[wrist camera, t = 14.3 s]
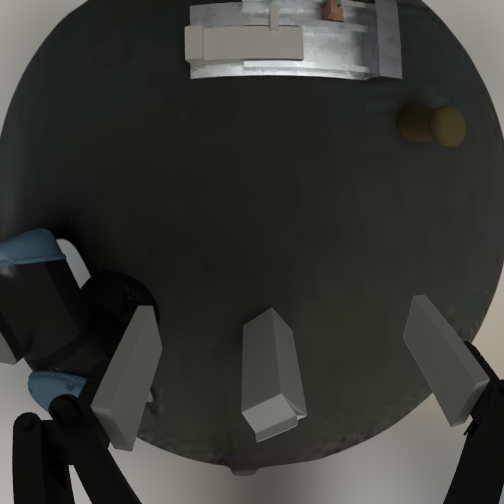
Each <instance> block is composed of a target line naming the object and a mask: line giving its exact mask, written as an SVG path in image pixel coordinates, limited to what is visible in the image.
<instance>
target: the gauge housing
mask: <svg viewBox="0 0 504 504" xmlns="http://www.w3.org/2000/svg"><path fill="white" fill-rule="evenodd" d="M242 1H243V2H236V3H218V4H206V5H195V6H190V26H196V25H202V26H203V28H204V29H206V28H219V27H238V26H270V15H269V5H270V4H278V11H279V26H291V27H303V46H304V59H303V60H302V61H244V62H241V63H220V64H206V65H194V66H192V65H191V79H204V78H219V77H239V76H302V77H322V78H337V79H349V80H359V81H368V82H376V83H384V82H389V81H394V80H400V79H402V64H401V46H400V32H399V21H398V11H397V2H396V1H393V0H370V1H369V2H368V3H362V2H356V1H349V0H337V7H338V8H343V14H344V22H343V23H342V22H333V21H323V20H322V10H323V8H324V7H325V6H326V4H327V3H328V2H329V0H242Z"/></svg>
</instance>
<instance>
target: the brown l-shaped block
mask: <svg viewBox="0 0 504 504" xmlns="http://www.w3.org/2000/svg"><path fill="white" fill-rule="evenodd" d="M322 20H323V21H333V22H342V23H343V22H344V14H343V8H338V7H337V0H329V2H328V3H327V4H326V6H325V7H324V8H323V10H322Z"/></svg>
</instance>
